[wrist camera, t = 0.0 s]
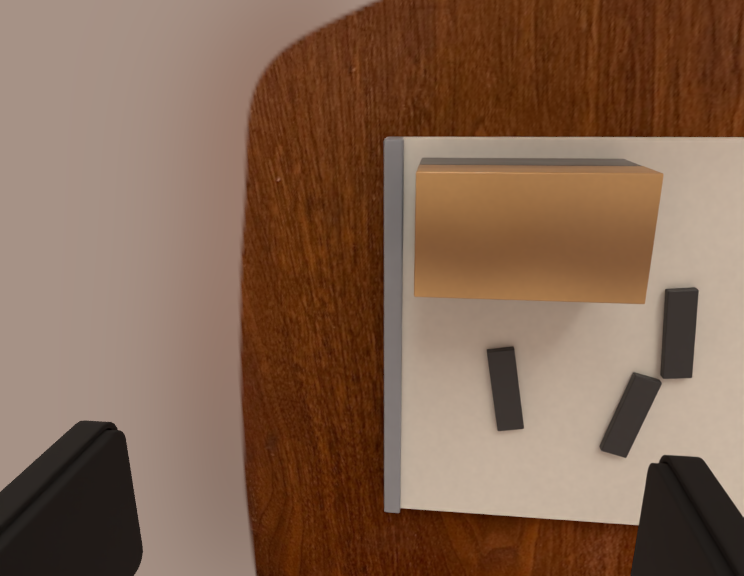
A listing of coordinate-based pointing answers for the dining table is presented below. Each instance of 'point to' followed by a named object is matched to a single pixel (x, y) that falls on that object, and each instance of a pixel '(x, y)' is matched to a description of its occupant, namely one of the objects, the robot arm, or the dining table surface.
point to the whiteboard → (565, 350)
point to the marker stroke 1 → (505, 388)
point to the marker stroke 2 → (630, 414)
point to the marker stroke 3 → (679, 332)
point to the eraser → (535, 229)
